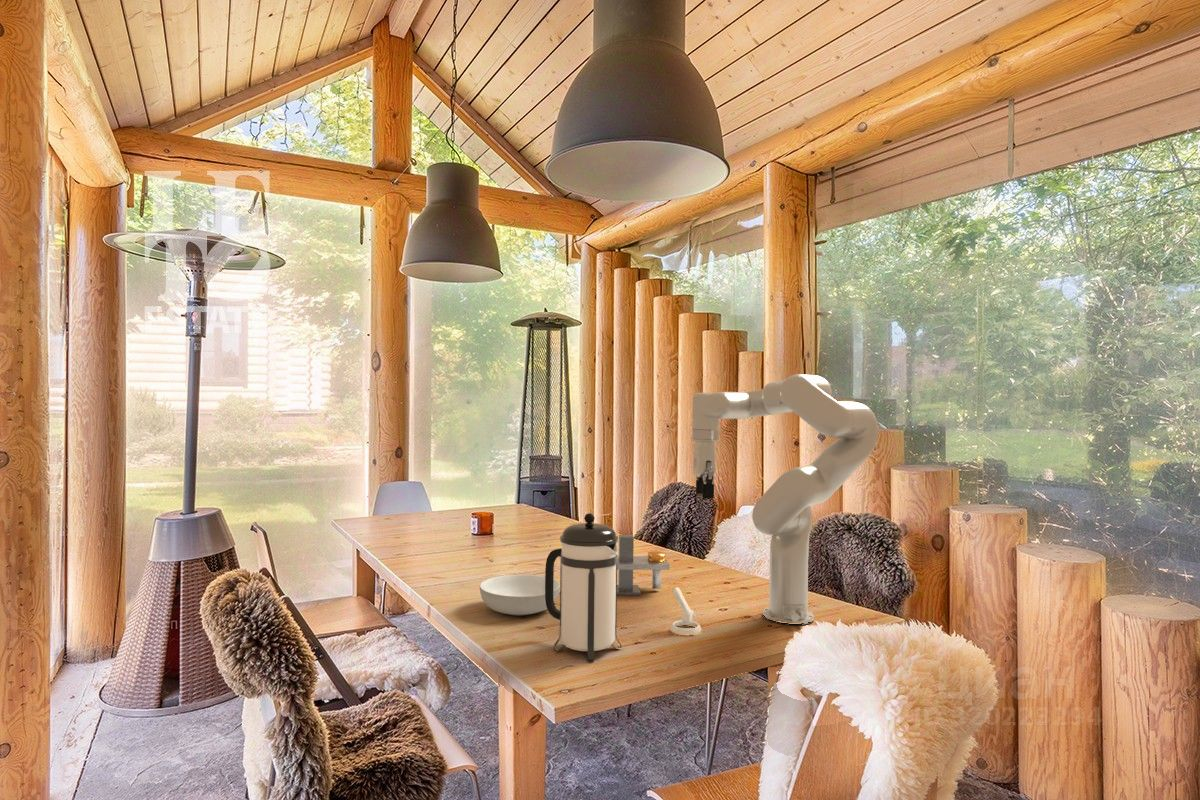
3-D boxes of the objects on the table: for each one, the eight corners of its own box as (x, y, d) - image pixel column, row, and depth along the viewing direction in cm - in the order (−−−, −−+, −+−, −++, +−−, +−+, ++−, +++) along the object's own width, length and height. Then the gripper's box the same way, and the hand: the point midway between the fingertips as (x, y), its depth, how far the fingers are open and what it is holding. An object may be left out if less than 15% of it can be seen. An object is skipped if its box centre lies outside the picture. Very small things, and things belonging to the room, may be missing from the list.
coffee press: (619, 636, 158) (620, 507, 158) (623, 662, 142) (625, 519, 142) (544, 636, 157) (546, 507, 157) (540, 662, 141) (542, 518, 141)
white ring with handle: (659, 599, 170) (683, 585, 169) (683, 644, 165) (707, 630, 164) (650, 601, 163) (674, 586, 162) (675, 648, 159) (700, 633, 157)
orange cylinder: (648, 590, 194) (648, 555, 194) (646, 585, 199) (647, 551, 199) (666, 590, 194) (667, 555, 194) (664, 585, 199) (664, 551, 199)
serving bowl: (483, 626, 164) (484, 597, 164) (475, 601, 184) (476, 576, 184) (567, 619, 170) (567, 592, 170) (550, 596, 190) (551, 572, 190)
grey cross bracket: (669, 596, 191) (669, 539, 191) (612, 596, 191) (613, 539, 191) (664, 586, 201) (665, 532, 201) (610, 586, 201) (611, 532, 201)
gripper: (687, 434, 201) (686, 492, 201) (697, 437, 184) (697, 500, 184) (712, 434, 202) (711, 492, 202) (725, 437, 184) (724, 500, 184)
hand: (704, 496), depth 193 cm, fingers open, 9 cm apart
